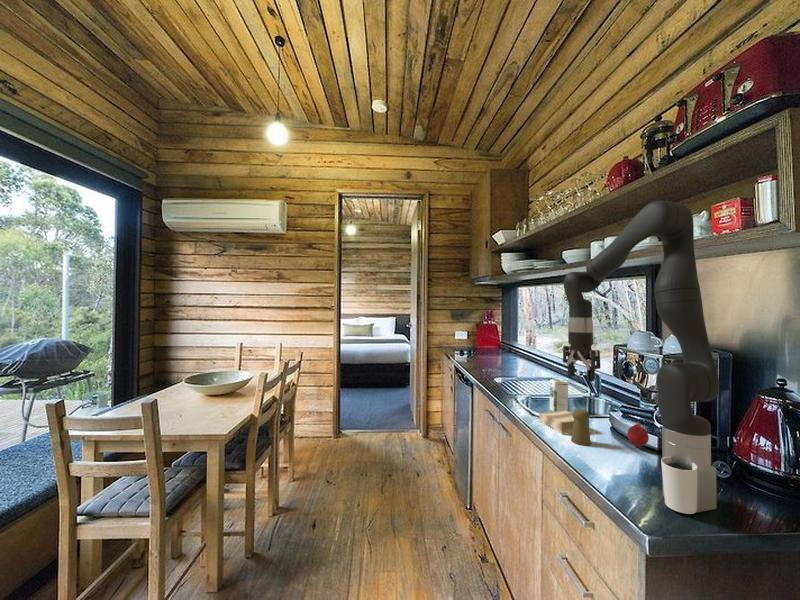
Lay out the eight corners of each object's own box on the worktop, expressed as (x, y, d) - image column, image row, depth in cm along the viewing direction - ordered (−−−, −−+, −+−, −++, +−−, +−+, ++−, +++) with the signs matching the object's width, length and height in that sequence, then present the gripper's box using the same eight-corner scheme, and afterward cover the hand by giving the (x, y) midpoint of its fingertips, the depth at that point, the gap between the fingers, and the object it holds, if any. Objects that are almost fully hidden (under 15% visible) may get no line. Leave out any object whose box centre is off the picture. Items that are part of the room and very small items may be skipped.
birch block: (589, 433, 128) (589, 419, 128) (561, 436, 124) (561, 422, 124) (565, 423, 139) (565, 410, 139) (539, 425, 136) (539, 412, 136)
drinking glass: (655, 501, 84) (654, 459, 83) (675, 495, 86) (673, 454, 85) (686, 518, 77) (684, 473, 77) (706, 510, 79) (704, 466, 79)
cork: (586, 439, 121) (586, 407, 121) (594, 446, 115) (594, 412, 115) (568, 438, 121) (568, 406, 122) (575, 445, 115) (574, 412, 116)
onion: (644, 452, 110) (644, 426, 110) (624, 446, 115) (624, 422, 115) (651, 448, 114) (651, 423, 114) (631, 442, 118) (631, 418, 119)
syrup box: (549, 412, 152) (548, 379, 152) (562, 412, 152) (562, 379, 152) (554, 416, 146) (554, 381, 146) (568, 417, 146) (568, 382, 146)
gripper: (606, 332, 113) (607, 382, 113) (574, 329, 127) (574, 374, 126) (587, 332, 111) (587, 384, 111) (556, 329, 125) (556, 375, 125)
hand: (580, 378), depth 119 cm, fingers open, 8 cm apart
